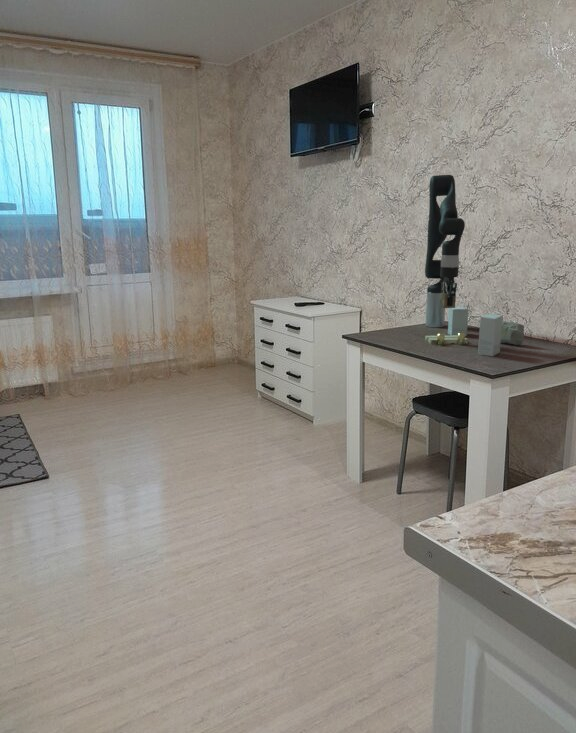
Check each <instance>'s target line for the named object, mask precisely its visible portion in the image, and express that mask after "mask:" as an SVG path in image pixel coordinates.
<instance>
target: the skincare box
mask: <svg viewBox="0 0 576 733" xmlns="http://www.w3.org/2000/svg"><path fill="white" fill-rule="evenodd" d="M503 316H504V315H502V314H493V313H486V314H484V315H482V316H480V321H479V333H478V345H477V346H478V347H477V355H478V356H479V355H480V356H486V357H495V356H496V355H498V354H499V353H500V350H501V330H502V321H503V318H504V317H503Z"/></svg>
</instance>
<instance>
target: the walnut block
mask: <svg viewBox="0 0 576 733" xmlns="http://www.w3.org/2000/svg"><path fill="white" fill-rule="evenodd" d="M451 294H452V292H451ZM456 297H457V296H456V295H455V296H454V297H453V305H452V306H447V298H448V296H447V293H441V298H440V307H442V308H445V309H449V308H455V307H456V301H457V300H456V299H457V298H456Z"/></svg>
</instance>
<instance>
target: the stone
mask: <svg viewBox="0 0 576 733" xmlns="http://www.w3.org/2000/svg"><path fill="white" fill-rule="evenodd" d="M524 330H525V325H523V324H521V323H517V322H510V321H506V320H502V330H501V342H500V344H501V343H502V344H510V345H513V346H519V345H522V344H523V343H524V340H525V338H524V337H525V336H524V335H525V334H524V332H525V331H524Z"/></svg>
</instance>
